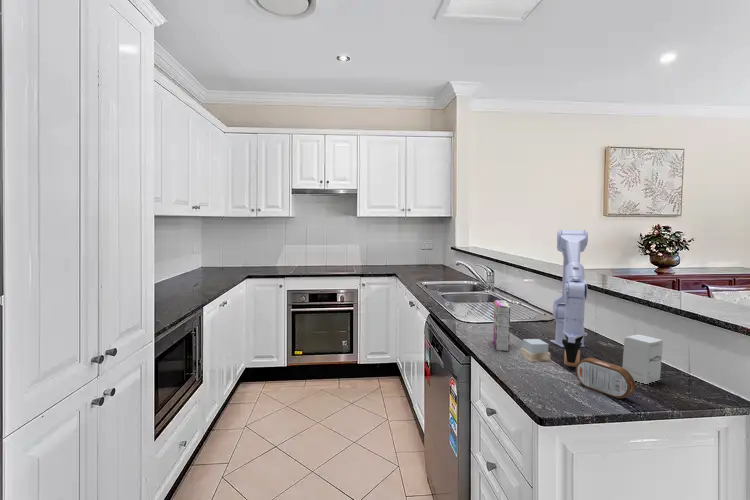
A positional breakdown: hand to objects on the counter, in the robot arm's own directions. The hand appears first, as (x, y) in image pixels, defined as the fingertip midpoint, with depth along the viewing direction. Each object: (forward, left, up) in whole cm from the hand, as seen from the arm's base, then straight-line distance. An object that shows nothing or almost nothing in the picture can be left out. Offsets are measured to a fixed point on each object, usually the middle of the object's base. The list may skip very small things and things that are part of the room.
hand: (571, 358), depth 132 cm
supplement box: (-13, +14, -2) cm, 19 cm away
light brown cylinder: (0, 0, -2) cm, 2 cm away
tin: (+5, +21, -2) cm, 22 cm away
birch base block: (+9, -7, -2) cm, 12 cm away
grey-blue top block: (+9, -7, +1) cm, 12 cm away
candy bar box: (+15, -20, -2) cm, 25 cm away
